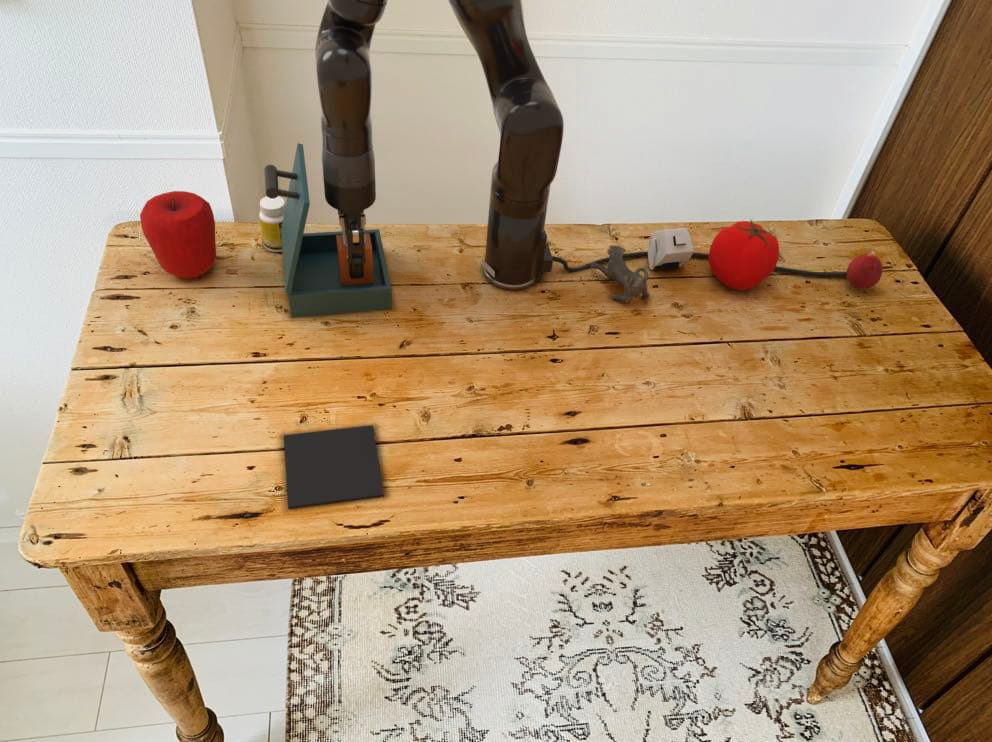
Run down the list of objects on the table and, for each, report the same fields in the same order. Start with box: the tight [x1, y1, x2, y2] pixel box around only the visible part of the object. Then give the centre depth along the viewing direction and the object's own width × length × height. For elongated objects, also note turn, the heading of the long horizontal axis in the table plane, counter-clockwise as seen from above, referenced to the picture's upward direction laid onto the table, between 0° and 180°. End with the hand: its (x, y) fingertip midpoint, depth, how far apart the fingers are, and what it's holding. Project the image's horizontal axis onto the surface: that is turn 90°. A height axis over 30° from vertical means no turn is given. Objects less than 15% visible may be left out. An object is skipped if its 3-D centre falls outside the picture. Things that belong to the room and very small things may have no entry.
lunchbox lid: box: [263, 142, 311, 295], centre depth 121 cm, size 16×16×5 cm
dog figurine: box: [590, 244, 650, 304], centre depth 136 cm, size 12×6×7 cm, turn 30°
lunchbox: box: [287, 228, 393, 318], centre depth 131 cm, size 16×16×4 cm
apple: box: [139, 190, 217, 280], centre depth 126 cm, size 10×10×14 cm
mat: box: [283, 424, 385, 509], centre depth 107 cm, size 12×12×1 cm
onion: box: [846, 250, 884, 290], centre depth 143 cm, size 6×6×8 cm
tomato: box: [708, 218, 780, 291], centre depth 140 cm, size 12×12×11 cm
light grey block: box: [647, 227, 695, 271], centre depth 141 cm, size 6×7×10 cm
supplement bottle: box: [258, 196, 286, 253], centre depth 134 cm, size 5×5×8 cm
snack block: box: [336, 233, 374, 285], centre depth 130 cm, size 5×4×7 cm
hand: (353, 260), depth 130 cm, fingers open, 8 cm apart
